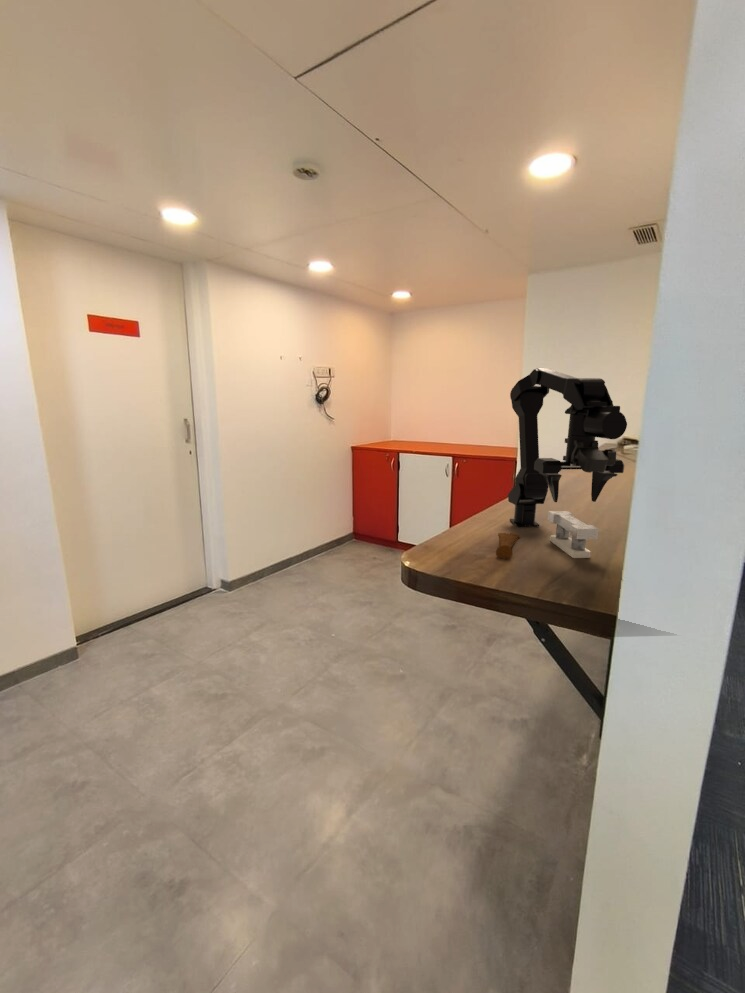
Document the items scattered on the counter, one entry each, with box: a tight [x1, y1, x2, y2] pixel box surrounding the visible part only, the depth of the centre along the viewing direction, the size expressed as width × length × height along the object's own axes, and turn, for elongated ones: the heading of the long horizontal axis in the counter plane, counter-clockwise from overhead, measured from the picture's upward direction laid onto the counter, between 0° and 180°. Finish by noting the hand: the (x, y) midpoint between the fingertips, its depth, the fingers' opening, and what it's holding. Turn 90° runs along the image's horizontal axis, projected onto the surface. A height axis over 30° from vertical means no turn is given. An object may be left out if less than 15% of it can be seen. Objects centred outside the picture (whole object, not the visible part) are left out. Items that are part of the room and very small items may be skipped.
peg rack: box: [549, 524, 592, 559], centre depth 107 cm, size 12×4×5 cm, turn 3°
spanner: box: [547, 510, 600, 540], centre depth 106 cm, size 5×15×2 cm, turn 2°
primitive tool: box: [495, 532, 521, 560], centre depth 109 cm, size 19×6×4 cm, turn 162°
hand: (574, 501), depth 104 cm, fingers open, 9 cm apart
